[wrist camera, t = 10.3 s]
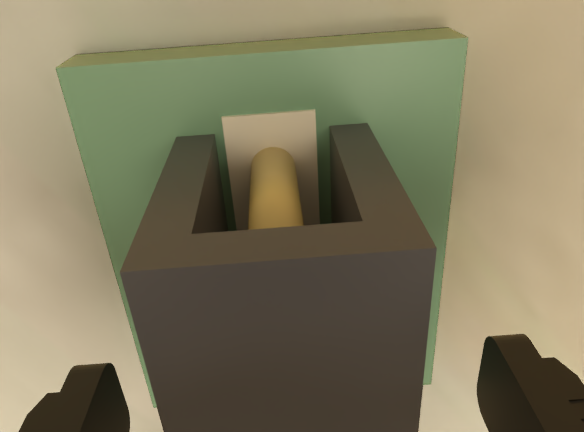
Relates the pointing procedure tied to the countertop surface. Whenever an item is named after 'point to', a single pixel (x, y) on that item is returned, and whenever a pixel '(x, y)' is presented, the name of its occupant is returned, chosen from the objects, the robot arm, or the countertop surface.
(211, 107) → the header board
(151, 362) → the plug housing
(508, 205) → the countertop surface
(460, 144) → the countertop surface
